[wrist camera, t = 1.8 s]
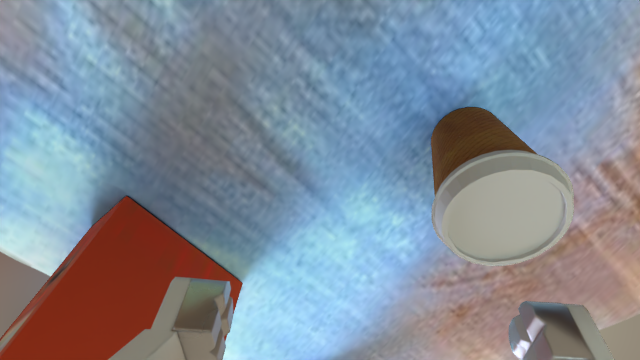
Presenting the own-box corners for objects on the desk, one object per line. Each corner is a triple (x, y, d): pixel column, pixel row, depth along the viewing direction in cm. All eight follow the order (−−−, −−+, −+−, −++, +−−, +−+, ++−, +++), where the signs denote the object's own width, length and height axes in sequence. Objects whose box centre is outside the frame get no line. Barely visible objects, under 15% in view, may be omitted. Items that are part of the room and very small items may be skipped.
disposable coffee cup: (494, 68, 34) (553, 136, 24) (535, 150, 38) (600, 238, 28) (394, 125, 37) (409, 205, 27) (441, 195, 41) (469, 286, 31)
